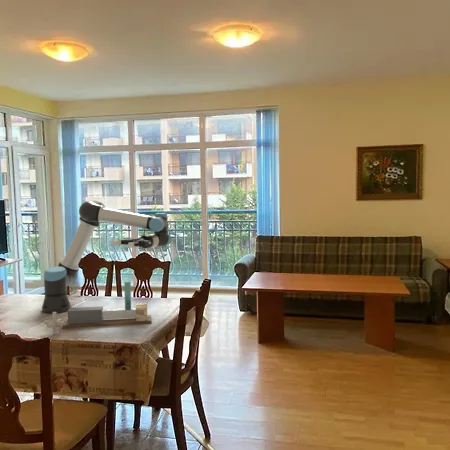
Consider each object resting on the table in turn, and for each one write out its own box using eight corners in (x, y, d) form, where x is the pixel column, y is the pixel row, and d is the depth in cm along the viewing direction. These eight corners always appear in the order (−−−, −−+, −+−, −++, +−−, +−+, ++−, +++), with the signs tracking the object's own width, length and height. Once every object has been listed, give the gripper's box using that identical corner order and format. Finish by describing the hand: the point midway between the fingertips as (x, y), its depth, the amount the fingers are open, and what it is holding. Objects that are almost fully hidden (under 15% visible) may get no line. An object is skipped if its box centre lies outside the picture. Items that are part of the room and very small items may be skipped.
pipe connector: (58, 337, 204) (58, 315, 203) (38, 336, 206) (38, 314, 205) (70, 331, 214) (70, 310, 213) (51, 329, 216) (50, 309, 215)
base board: (67, 321, 230) (67, 319, 230) (151, 317, 237) (151, 314, 237) (62, 328, 218) (62, 325, 218) (151, 323, 225) (151, 321, 225)
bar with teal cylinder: (93, 317, 228) (92, 282, 227) (142, 315, 232) (141, 280, 231) (92, 319, 224) (91, 284, 223) (142, 317, 228) (141, 282, 227)
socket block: (136, 316, 234) (136, 303, 234) (147, 315, 235) (147, 302, 235) (136, 321, 225) (135, 307, 225) (147, 320, 226) (147, 307, 226)
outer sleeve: (70, 320, 227) (69, 307, 227) (103, 318, 230) (102, 306, 230) (68, 324, 221) (67, 311, 221) (102, 322, 224) (101, 309, 223)
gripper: (165, 249, 250) (136, 253, 232) (133, 246, 264) (104, 249, 247) (165, 235, 249) (136, 238, 232) (133, 233, 263) (104, 235, 246)
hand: (119, 244), depth 239 cm, fingers open, 13 cm apart
